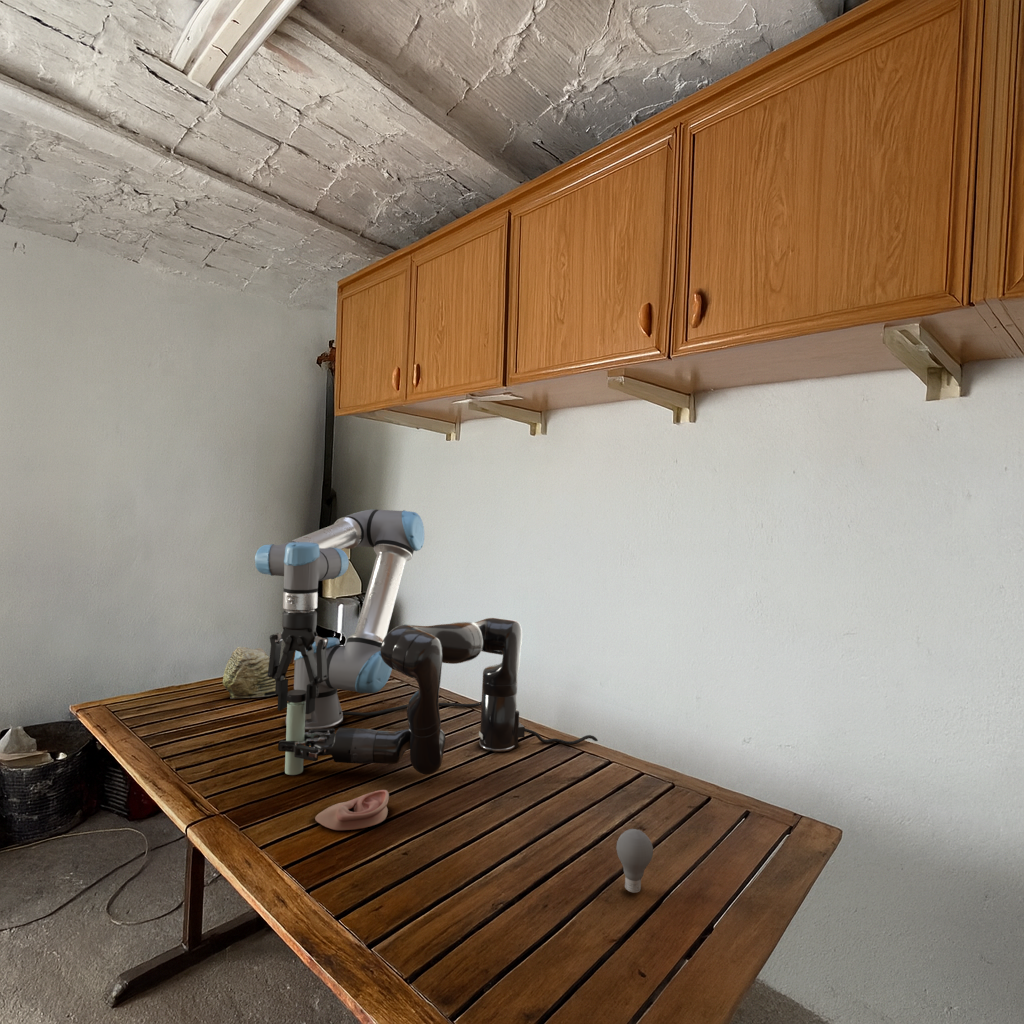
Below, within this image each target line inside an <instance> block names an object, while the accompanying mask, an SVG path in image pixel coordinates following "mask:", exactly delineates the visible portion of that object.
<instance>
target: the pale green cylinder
mask: <svg viewBox="0 0 1024 1024" xmlns="http://www.w3.org/2000/svg"><path fill="white" fill-rule="evenodd" d="M305 708H306V702H305V701H303V702H298V703H292V702H288V701H287V707H286V715H287V725H286V724H285V726H286V728H285V729H286V731H285V741H304V735H305ZM300 750H301V749H300ZM284 752H285V751H284ZM284 756H285V757H284V774H286V775H289V776H296V775H300V774H302V773H303V772H304V762H305V761H304V760H305V759H301V758H297V757H294V752H285V755H284Z"/></svg>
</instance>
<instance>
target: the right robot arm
mask: <svg viewBox="0 0 1024 1024" xmlns="http://www.w3.org/2000/svg"><path fill="white" fill-rule="evenodd" d="M522 643H523V628H522V625H521V623H520V622H519V621H518V620H513V619H506V618H499V617H487V618H483V619H481V620H478V621H475V622H471V621H457V622H450V623H442V624H433V625H415V624H406V623H405V624H401V625H397V626H395V627H394V628H392V629H391V630H390V631H388V632H387V635H386V636H385V638H384V639H383V642H382V644H381V649H380V653H381V657H382V659H383V661H384V662H385V664H387V665H388V666H389V667H390V668H392V670H394V671H396V672H398V673H400V674H403V675H405V676H406V677H409V678H412V679H415V681H416V682H417V686H418V689H417V690H416V691H415V692H414V693H413V694H412V696H411V697H410V699H409V701H408V703H407V704H408V706H407V708H406V718H407V724H408V728H405V729H401V730H397V731H396V730H394V731H393V730H392V731H391V730H376V729H372V728H360V727H359V728H357V727H338V728H337V730H336V729H335V728H330V729H314V730H309V732H305V735H304V741H286V740H279V742H278V744H277V750H278V752H294V757H297V758H301V759H304V760H307V761H310V762H318V760H319V757H326V756H331V757H332V761H334V763H341V764H357V765H358V764H360V765H365V764H366V765H367V764H380V765H381V764H382V765H383V764H384V765H396V764H399V762H401V761H402V758H403V756H404V754H405V753H406V752H407V751H409V760H410V763H411V766H412V768H413V769H414V771H416V772H417V773H418V774H420V775H425V776H429V775H433V774H435V773H436V772H437V771H439V769H440V768H441V766H442V765H443V758H444V752H445V746H446V734H445V732H444V731H443V729H442V719H441V713H440V706H439V703H440V699H439V698H440V689H441V680H442V670H443V664H449V665H455V664H456V665H457V664H462V663H467V662H470V661H473V660H474V659H476V658H477V657H478V656H479V655H480V654H481V653H485V654H486V653H487V654H492V655H500V656H502V659H501V662H499V663H498V664H492V665H489V666H486V667H485V668H484V669H483V671H482V683H481V684H482V685H481V701H482V704H481V705H480V706H481V707H480V729H479V731H478V737H479V747H480V748H481V749H482V750H485V751H487V752H493V753H505V752H506V753H507V752H509V751H512V750H513V749H517V748H518V747H519V738H520V739H521V738H525V734H526V733H528V734H530V735H533V736H535V737H536V738H537V739H538V740H539V742H541V743H544V744H549V743H559V744H562V745H566V746H574V745H578V744H580V743H582V742H583V741H586V740H588V739H590V740H593V741H594V742H598V741H599V740H598V738H597V737H595V736H594V735H591V734H587V735H583V736H582V737H580V738H578V739H576V740H575V739H574V740H572V741H571V740H570V741H567V740H564V739H559V738H548V739H544V738H542V736H541V735H540V734H539V733H537V732H536V731H534V730H532V729H529V728H526V727H525V726H524V725H523V724H522V723H521V722H520V710H518V709H517V706H518V705H517V702H518V681H519V672H520V667H521V666H520V665H521V652H522V645H523V644H522ZM300 749H301V750H300Z"/></svg>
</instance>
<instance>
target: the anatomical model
mask: <svg viewBox="0 0 1024 1024" xmlns="http://www.w3.org/2000/svg"><path fill="white" fill-rule="evenodd" d="M389 799H390V793H389V791H388V790H387V789H380V790H375V791H372V792H368V793H366V794H363V795H361V796H358V797H355V798H353V799H351V800H348V801H344V802H338V803H336V804H332V805H330V806H328V807H327V808H325V809H323V810H321V811H320V812H318V814H317V815H315V817H314V819H315V820H314V821H315V822H317V823H318V824H319V825H322V826H323V827H325V828H327V829H331V830H333V831H350V830H351V831H353V830H360V829H365V828H368V827H373V826H375V825H379V824H381V823H382V822H384V821H385V820H386V819H387V816H388V813H389V812H388V811H389V809H388V807H387V805H388V803H389Z"/></svg>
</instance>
